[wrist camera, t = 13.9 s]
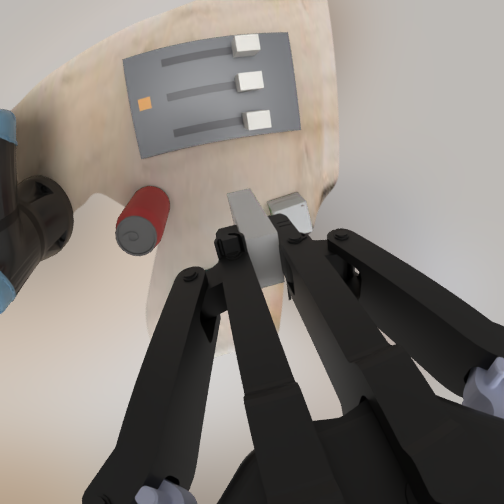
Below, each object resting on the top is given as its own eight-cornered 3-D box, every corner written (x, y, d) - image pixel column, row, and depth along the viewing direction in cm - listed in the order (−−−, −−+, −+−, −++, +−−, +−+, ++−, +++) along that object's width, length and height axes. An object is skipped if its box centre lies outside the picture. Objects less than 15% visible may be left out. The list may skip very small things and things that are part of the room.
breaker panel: (144, 156, 38) (134, 165, 32) (126, 61, 30) (113, 54, 24) (295, 128, 40) (311, 132, 34) (283, 36, 32) (297, 25, 26)
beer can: (129, 187, 40) (106, 215, 30) (168, 183, 41) (157, 209, 31) (135, 224, 43) (117, 261, 33) (172, 221, 44) (164, 257, 34)
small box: (265, 201, 45) (272, 212, 41) (297, 190, 45) (307, 200, 41) (274, 230, 48) (281, 242, 44) (304, 219, 48) (314, 231, 44)
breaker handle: (237, 92, 33) (240, 90, 30) (234, 76, 32) (238, 73, 29) (258, 89, 34) (264, 87, 30) (255, 74, 32) (261, 70, 29)
